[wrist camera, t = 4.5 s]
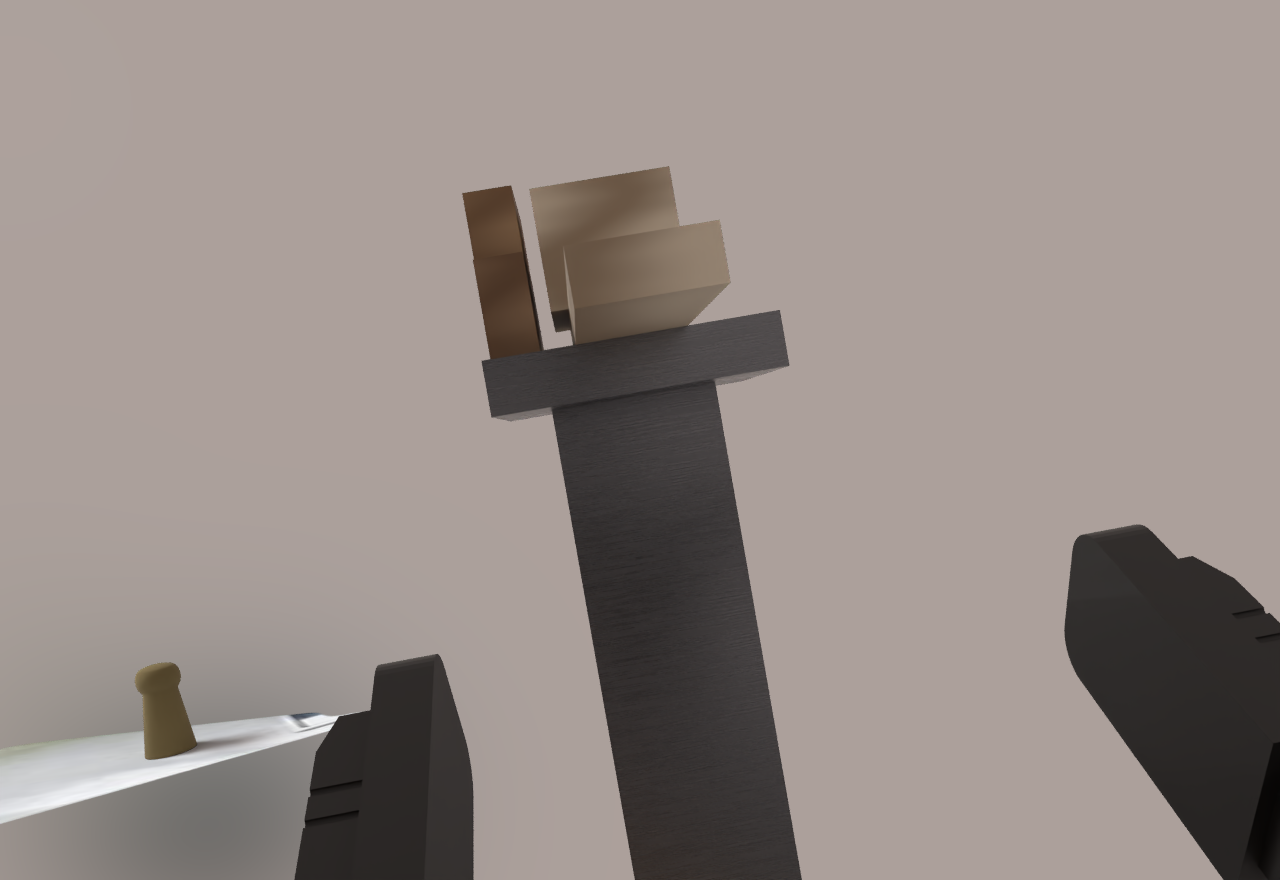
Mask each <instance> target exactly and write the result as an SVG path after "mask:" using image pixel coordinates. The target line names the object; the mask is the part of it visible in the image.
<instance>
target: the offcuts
mask: <svg viewBox="0 0 1280 880" xmlns="http://www.w3.org/2000/svg"><path fill="white" fill-rule="evenodd" d="M463 200H464V205H465V211H466V217H467V222H468V228H469V233H470V239H471V245H472V251H473V256H474V260H473V263H474V268H475V274H476V280H477V286H478V290H479V297H480V303H481V308H482V314H483V319H484V325H485V331H486V336H487V342H488V348H489V353H490V359H496V358H502V357H508V356H513V355H519V354H525V353H531V352H537V351H543V350H544V348H543V343H542V337H541V331H540V326H539V320H538V314H537V309H536V303H535V297H534V292H533V286H532V281H531V276H530V272H529V265H528V259H527V254H526V248H525V242H524V237H523V231H522V226H521V220H520V216H519V213H518V209H517V206H516V202H515V198H514V195H513V191H512V187H511V186H504V187H498V188H492V189H486V190H480V191H474V192H468V193H463Z"/></svg>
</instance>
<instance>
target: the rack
mask: <svg viewBox="0 0 1280 880" xmlns="http://www.w3.org/2000/svg"><path fill="white" fill-rule="evenodd" d="M482 366H483V372H484V378H485V382H486V388H487V394H488V400H489V406H490V411H491V417H492V418H497V419H503V420H507V421H515V420H521V419H527V418H532V417H538V416H544V415H550V414H553V419H554V425H555V430H556V436H557V442H558V447H559V453H560V459H561V464H562V470H563V476H564V481H565V487H566V493H567V498H568V504H569V510H570V515H571V521H572V527H573V532H574V538H575V544H576V549H577V555H578V560H579V566H580V572H581V578H582V583H583V588H584V595H585V600H586V606H587V612H588V617H589V623H590V628H591V634H592V640H593V645H594V651H595V656H596V662H597V668H598V674H599V679H600V685H601V691H602V696H603V702H604V708H605V713H606V719H607V725H608V730H609V736H610V741H611V747H612V753H613V759H614V764H615V770H616V775H617V781H618V787H619V792H620V798H621V804H622V809H623V815H624V820H625V826H626V832H627V837H628V843H629V848H630V855H631V860H632V866H633V871H634V876H635V880H802V878H801V873H800V867H799V861H798V856H797V850H796V844H795V838H794V832H793V828H792V821H791V815H790V810H789V804H788V798H787V793H786V787H785V781H784V775H783V770H782V764H781V758H780V753H779V747H778V741H777V735H776V729H775V724H774V718H773V712H772V706H771V701H770V695H769V689H768V683H767V678H766V672H765V667H764V661H763V655H762V649H761V644H760V638H759V632H758V627H757V620H756V615H755V609H754V603H753V598H752V592H751V586H750V580H749V575H748V569H747V563H746V557H745V552H744V546H743V540H742V535H741V529H740V523H739V518H738V512H737V506H736V500H735V494H734V489H733V483H732V477H731V471H730V466H729V461H728V455H727V449H726V443H725V437H724V432H723V426H722V420H721V414H720V408H719V403H718V397H717V391H716V385H722V384H728V383H734V382H739V381H744V380H747V379H750V378H753V377H756V376H759V375H762V374H765V373H768V372H771V371H774V370H777V369H780V368H784V367H787V366H789V361H788V355H787V349H786V343H785V338H784V332H783V326H782V321H781V315H780V310H777V311H772V312H766V313H759V314H754V315H748V316H742V317H736V318H730V319H724V320H718V321H712V322H707V323H701V324H695V325H689V326H683V327H677V328H671V329H666V330H660V331H654V332H648V333H642V334H636V335H631V336H625V337H619V338H613V339H607V340H601V341H595V342H590V343H584V344H578V345H572V346H566V347H561V348H555V349H549V350H543V351H537V352H531V353H525V354H519V355H513V356H508V357H502V358H496V359H490V360H484V361H482Z"/></svg>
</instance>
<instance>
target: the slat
mask: <svg viewBox="0 0 1280 880" xmlns="http://www.w3.org/2000/svg"><path fill="white" fill-rule="evenodd" d="M529 190H530V195H531V201H532V207H533V212H534V218H535V224H536V229H537V235H538V240H539V246H540V252H541V258H542V263H543V269H544V274H545V280H546V286H547V292H548V297H549V303H550V309H551V314H552V318H553V322H554V327H555V331H556V332H561V331H566V330H570V331H571V336H572V342H573V345H578V344H584V343H590V342H595V341H601V340H607V339H613V338H619V337H625V336H631V335H636V334H642V333H648V332H654V331H660V330H666V329H671V328H677V327H683V326H688V325H689V324H690V323H691V322H692V321H693V320H694V319H695V318H696V317H697V316H698V315H699V314H700V313H701V312H702V311H703V310H704V309H705V308H706V307H707V306H708V304H710V303H711V302H712V301H713V300H714V299H715V298H716V297H717V296H718V295H719V293H721V292H722V291H723V290H724V289H725V288H726V287H727V286H728V284H729V283H730V276H729V270H728V265H727V259H726V253H725V248H724V242H723V236H722V230H721V225H720V220H716V221H710V222H704V223H698V224H692V225H686V226H679V220H678V215H677V209H676V203H675V198H674V192H673V186H672V180H671V174H670V169H669V166H668V167H662V168H656V169H649V170H643V171H638V172H631V173H625V174H619V175H612V176H606V177H600V178H594V179H588V180H582V181H575V182H570V183H564V184H557V185H551V186H545V187H538V188H532V189H529Z"/></svg>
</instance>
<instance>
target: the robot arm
mask: <svg viewBox="0 0 1280 880" xmlns="http://www.w3.org/2000/svg"><path fill="white" fill-rule="evenodd" d="M1064 631H1065V641H1066V647H1067V651H1068V655H1069V658H1070V661H1071V663H1072V666H1073V668H1074V670H1075V672H1076V674H1077V676H1078V677H1079V679H1080V680H1081V682H1082V683H1083V684H1084V686H1085V687H1086V688H1087V690H1088V691H1089V693H1090V694H1091V695H1092V697H1093V698H1094V700H1095V701H1096V703H1097V704H1098V705H1099V707H1100V708H1101V709H1102V711H1103V712H1104V714H1105V715H1106V716H1107V718H1108V719H1109V721H1110V722H1111V723H1112V725H1113V726H1114V728H1115V729H1116V730H1117V732H1118V733H1119V734H1120V736H1121V737H1122V739H1123V740H1124V742H1125V743H1126V744H1127V746H1128V747H1129V749H1130V750H1131V751H1132V753H1133V754H1134V756H1135V757H1136V758H1137V760H1138V761H1139V762H1140V764H1141V765H1142V766H1143V768H1144V769H1145V771H1146V772H1147V774H1148V775H1149V777H1150V778H1151V779H1152V781H1153V782H1154V784H1155V785H1156V786H1157V788H1158V789H1159V791H1160V792H1161V793H1162V795H1163V796H1164V797H1165V799H1166V800H1167V802H1168V803H1169V804H1170V806H1171V807H1172V808H1173V810H1174V811H1175V813H1176V814H1177V816H1178V817H1179V818H1180V820H1181V821H1182V823H1183V824H1184V825H1185V827H1186V828H1187V830H1188V831H1189V832H1190V834H1191V835H1192V836H1193V838H1194V839H1195V841H1196V842H1197V844H1198V845H1199V846H1200V848H1201V849H1202V850H1203V852H1204V853H1205V855H1206V856H1207V857H1208V859H1209V860H1210V862H1211V863H1212V864H1213V866H1214V867H1215V869H1216V870H1217V871H1218V873H1219V874H1220V876H1221V877H1222V878H1223V880H1280V623H1279V622H1278V621H1277V620H1276V619H1275V618H1274V617H1273V616H1272V615H1271V614H1270V613H1268V614H1266V613H1265V611H1264V607H1263V606H1262V605H1261V604H1260V603H1259V602H1258V601H1257V600H1256V599H1255V598H1254V597H1253V596H1252V595H1251V594H1250V593H1249V592H1248V591H1247V590H1246V589H1245V588H1244V587H1243V586H1241V584H1240V583H1239V582H1237V581H1236V580H1235V579H1234V578H1233V577H1231V576H1229V575H1227V574H1225V573H1223V572H1221V571H1219V570H1218V569H1216V568H1214V567H1212V566H1210V565H1208V564H1206V563H1204V562H1202V561H1201V560H1199V559H1197V558H1195V557H1193V556H1191V557H1185V558H1180V559H1178V558H1177V557H1176V556H1175V555H1174V554H1173V553H1172V552H1171V551H1170V550H1169V549H1168V548H1167V547H1166V546H1165V545H1164V544H1163V543H1162V542H1161V541H1160V540H1159V539H1158V538H1157V537H1156V536H1155V535H1154V534H1153V532H1151V531H1150V530H1149V529H1148V528H1147V527H1145V526H1143V525H1132V526H1127V527H1121V528H1116V529H1111V530H1105V531H1100V532H1094V533H1090V534H1085V535H1081V536H1079V537H1078V538H1077V539H1076V541H1075V543H1074V546H1073V551H1072V562H1071V571H1070V581H1069V589H1068V599H1067V608H1066V618H1065V630H1064ZM471 772H472V771H471V764H470V758H469V753H468V748H467V744H466V740H465V736H464V733H463V729H462V726H461V723H460V719H459V716H458V712H457V709H456V706H455V702H454V699H453V695H452V692H451V689H450V685H449V682H448V678H447V675H446V671H445V668H444V665H443V662H442V660H441V657H440V656H439V655H438V654H435V655H430V656H424V657H419V658H413V659H408V660H403V661H397V662H392V663H387V664H381V665H378V666H377V668H376V671H375V676H374V685H373V694H372V702H371V710H370V711H365V712H360V713H354V714H349V715H344V716H339V717H338V719H337V720H336V722H335V723H334V725H333V727H332V728H331V730H330V731H329V733H328V735H327V736H326V738H325V739H324V741H323V742H322V744H321V745H320V747H319V749H318V750H317V752H316V755H315V761H314V767H313V773H312V779H311V786H310V793H311V796H310V797H309V798H308V804H307V809H306V815H305V828H303V832H302V839H301V844H300V850H299V856H298V862H297V868H296V874H295V880H473V781H472V773H471Z"/></svg>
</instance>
